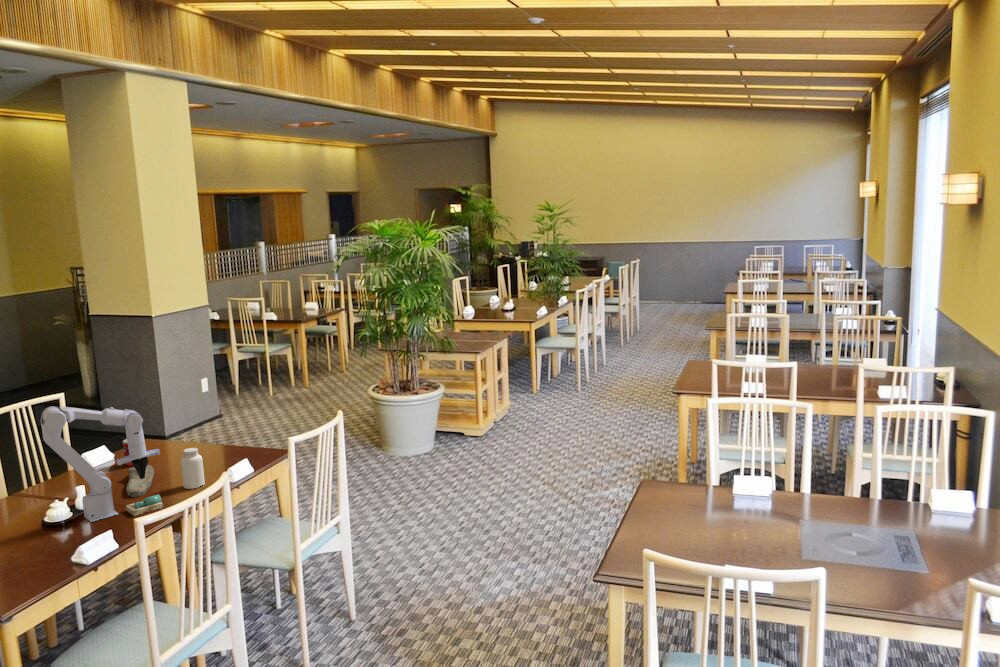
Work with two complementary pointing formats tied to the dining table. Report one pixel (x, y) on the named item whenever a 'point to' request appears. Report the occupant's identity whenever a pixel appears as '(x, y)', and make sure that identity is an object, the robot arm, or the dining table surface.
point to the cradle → (136, 512)
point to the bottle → (148, 501)
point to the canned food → (126, 451)
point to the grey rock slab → (139, 482)
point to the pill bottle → (192, 469)
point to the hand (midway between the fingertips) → (142, 478)
